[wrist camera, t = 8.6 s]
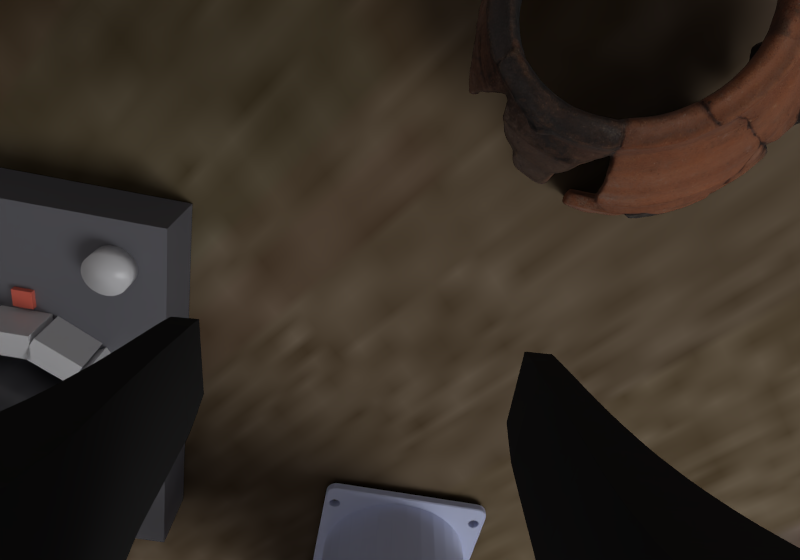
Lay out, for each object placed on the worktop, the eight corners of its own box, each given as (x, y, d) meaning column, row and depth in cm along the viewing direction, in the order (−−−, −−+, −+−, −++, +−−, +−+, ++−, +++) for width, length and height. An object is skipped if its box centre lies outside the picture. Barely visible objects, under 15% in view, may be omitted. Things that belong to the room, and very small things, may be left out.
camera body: (183, 498, 29) (151, 571, 25) (-23, 468, 28) (-87, 539, 24) (192, 203, 21) (149, 247, 18) (-87, 151, 20) (-191, 185, 17)
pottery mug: (487, 224, 22) (444, 195, 14) (499, -20, 22) (463, -187, 14) (849, 233, 19) (1058, 202, 11) (867, -54, 19) (1093, -299, 11)
